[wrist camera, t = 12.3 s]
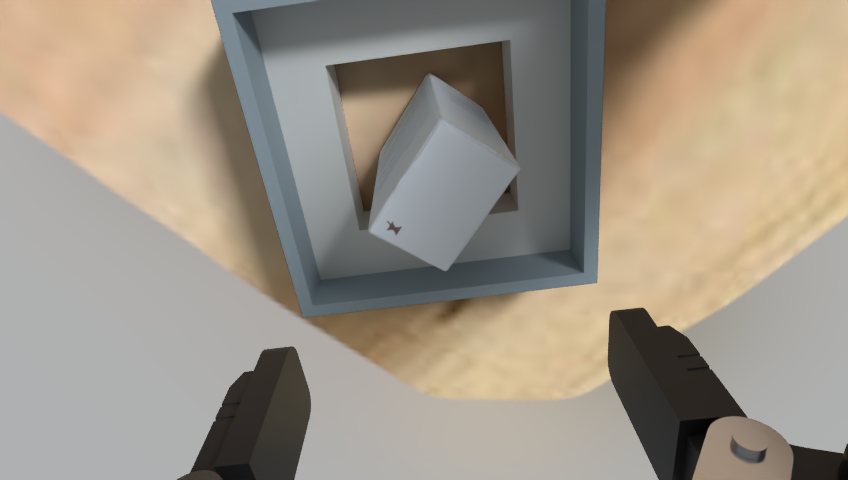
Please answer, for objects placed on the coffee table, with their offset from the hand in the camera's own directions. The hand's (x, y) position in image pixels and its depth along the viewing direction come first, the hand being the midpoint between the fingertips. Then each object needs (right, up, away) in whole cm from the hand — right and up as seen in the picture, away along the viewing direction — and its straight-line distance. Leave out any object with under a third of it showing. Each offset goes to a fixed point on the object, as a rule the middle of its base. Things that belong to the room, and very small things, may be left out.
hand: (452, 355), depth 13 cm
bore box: (0, +10, +19) cm, 22 cm away
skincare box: (0, +10, +19) cm, 22 cm away
